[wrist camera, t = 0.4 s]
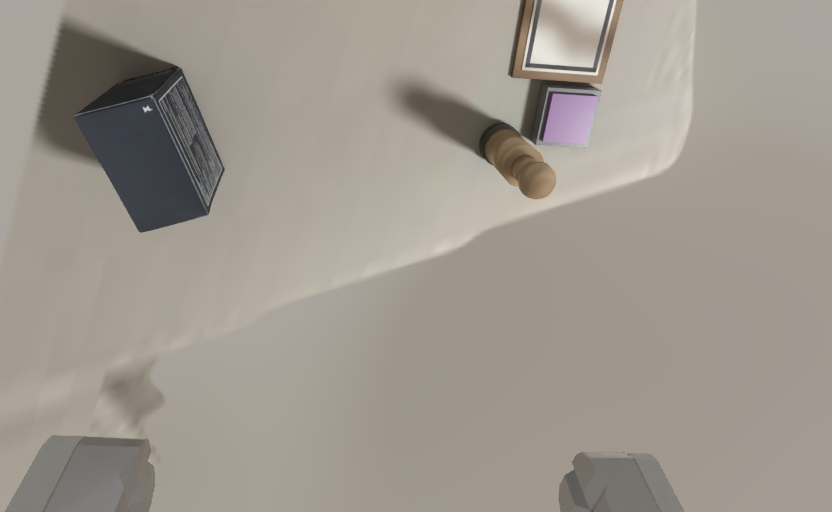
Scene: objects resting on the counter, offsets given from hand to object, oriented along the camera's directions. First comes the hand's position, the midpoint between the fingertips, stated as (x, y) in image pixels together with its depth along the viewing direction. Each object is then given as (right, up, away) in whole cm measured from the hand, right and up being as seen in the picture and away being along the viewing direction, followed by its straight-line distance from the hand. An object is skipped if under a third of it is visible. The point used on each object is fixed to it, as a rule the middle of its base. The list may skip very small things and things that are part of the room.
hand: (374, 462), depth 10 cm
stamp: (+10, +16, +47) cm, 51 cm away
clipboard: (+16, +27, +42) cm, 53 cm away
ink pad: (+16, +19, +47) cm, 53 cm away
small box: (-23, +16, +41) cm, 49 cm away
